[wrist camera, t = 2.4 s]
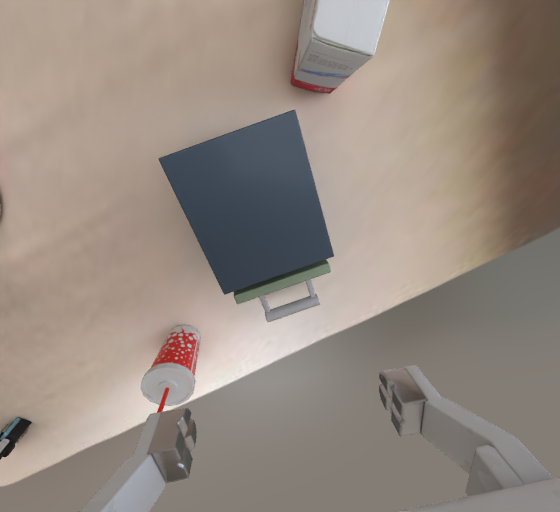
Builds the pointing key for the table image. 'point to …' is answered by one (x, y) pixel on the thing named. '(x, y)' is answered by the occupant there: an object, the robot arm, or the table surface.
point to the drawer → (283, 282)
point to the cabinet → (251, 202)
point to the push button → (12, 436)
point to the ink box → (335, 41)
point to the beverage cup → (173, 369)
